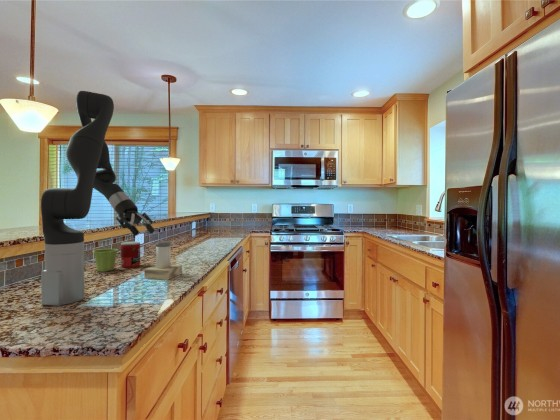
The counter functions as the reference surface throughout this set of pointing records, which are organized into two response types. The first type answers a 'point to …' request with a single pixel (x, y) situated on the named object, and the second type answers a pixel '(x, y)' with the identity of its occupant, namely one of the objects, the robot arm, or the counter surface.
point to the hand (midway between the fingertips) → (145, 233)
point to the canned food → (130, 254)
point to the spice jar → (163, 254)
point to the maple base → (163, 272)
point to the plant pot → (105, 259)
